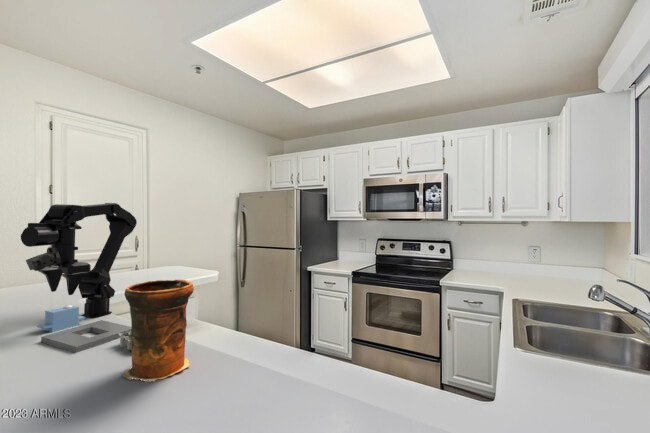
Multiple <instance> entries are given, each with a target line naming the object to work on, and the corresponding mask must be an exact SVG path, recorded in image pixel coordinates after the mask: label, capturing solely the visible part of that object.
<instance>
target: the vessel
mask: <svg viewBox="0 0 650 433" xmlns="http://www.w3.org/2000/svg"><path fill="white" fill-rule="evenodd" d="M194 288H195V287H194V284H193V283H192V282H191V281H189V280H186V279H174V280H173V279H172V280H171V279H170V280H168V279H167V280H161V279H158V280H148V281H147V280H146V281H144V282H140V283H135V284H133V285H130V286H127V287H126V288H125V290H124V297H125V299H126V301H127V302H128V306H129V312H130V313H129V314H130V319H131V320H130V322H131V327H132V328H131V350H130V351H131V366H132V368H131V369H129V368H127V371H124V374H123V375H122V377H124V378H126V379H128V380H131V379H132V378H133V379H135V378H136V379H135V380H139V379H142V380H143V381H144V380H145V382H151V381H153V382H154V383H155V381H157V380H164V379H165V378H166V379H167V377H170V376H174V375H175V374H176V373H179V372H182V371H184V370H185V369H186V368H189V367H190V366H189V365H190V361H189V359H188V358H186V357H185V352H186V348H185V347H186V334H187V333H186V331H187V330H186V328H187V307H188V306H187V305H188V304H189V298H190V296H192V294H193V293H194ZM142 380H141V381H142ZM148 380H150V381H148ZM153 382H152V383H153Z"/></svg>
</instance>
